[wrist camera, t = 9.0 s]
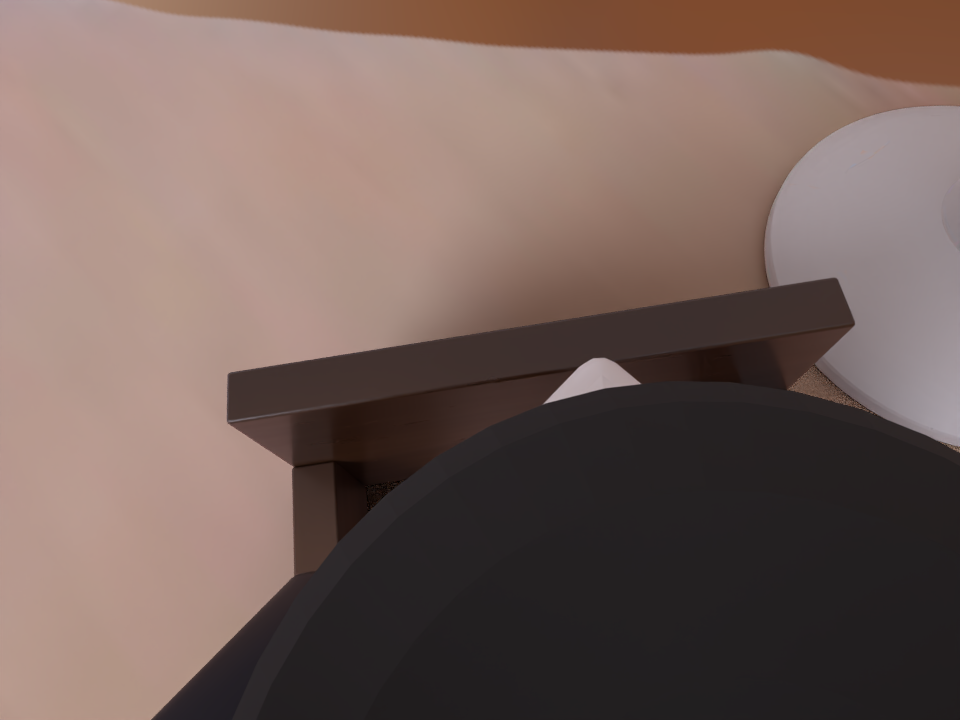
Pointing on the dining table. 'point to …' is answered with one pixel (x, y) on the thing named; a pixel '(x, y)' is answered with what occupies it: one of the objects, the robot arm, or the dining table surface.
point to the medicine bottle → (642, 570)
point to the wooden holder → (502, 388)
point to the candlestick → (883, 259)
